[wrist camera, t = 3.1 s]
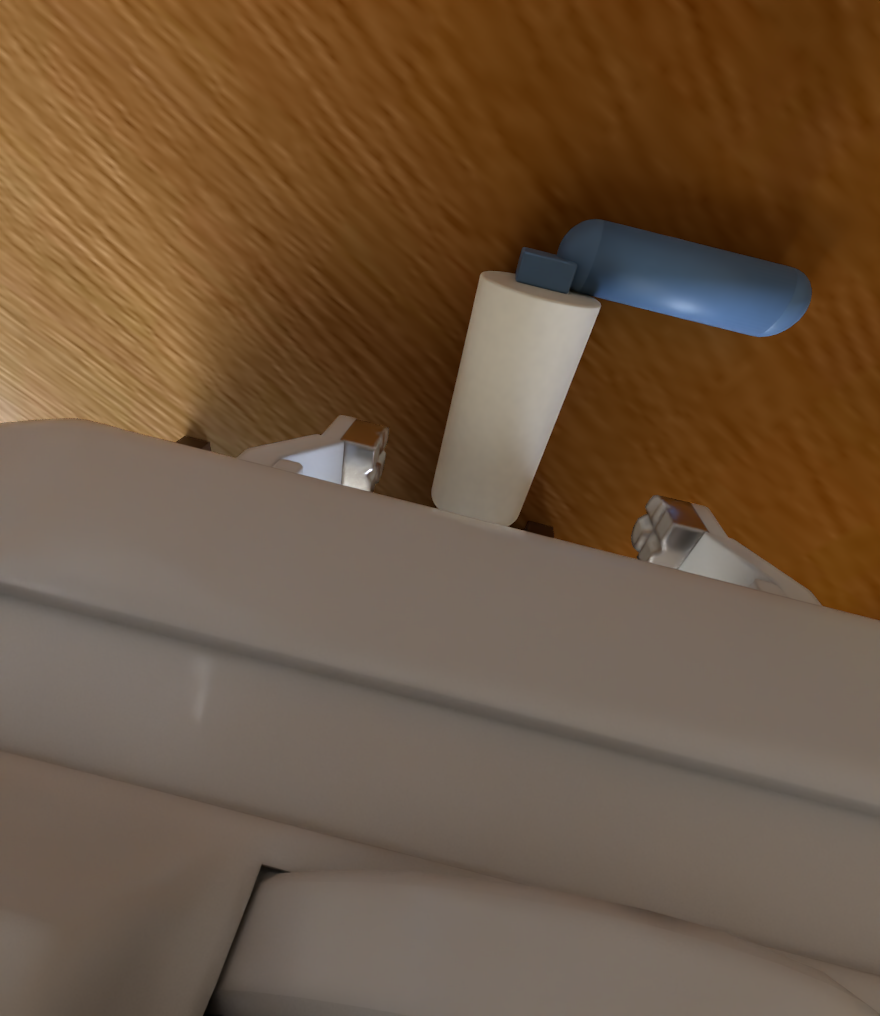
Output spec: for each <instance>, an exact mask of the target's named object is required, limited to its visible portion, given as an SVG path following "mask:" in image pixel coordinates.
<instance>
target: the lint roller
mask: <svg viewBox="0 0 880 1016" xmlns="http://www.w3.org/2000/svg"><path fill="white" fill-rule="evenodd" d="M589 295H590V296H589ZM811 295H812V288H811V284H810V281H809V280H808V278H807V277H806V275H805V274H804V273H803V272H801V271H800V270H798V269H795V268H793V267H790V266H786V265H782V264H778V263H774V262H770V261H766V260H762V259H758V258H754V257H750V256H746V255H742V254H738V253H734V252H730V251H726V250H722V249H718V248H714V247H710V246H706V245H702V244H698V243H694V242H690V241H686V240H682V239H678V238H674V237H670V236H666V235H662V234H658V233H654V232H650V231H646V230H642V229H638V228H634V227H630V226H626V225H622V224H618V223H614V222H610V221H606V220H601V219H590V220H586V221H583V222H581V223H579V224H577V225H576V226H574V227H573V228H572V229H571V230H569V232H568V233H567V234H566V235H565V236H564V238H563V240H562V241H561V243H560V245H559V248H558V251H557V255H555V254H551V253H547V252H543V251H539V250H535V249H531V248H527V247H523V248H522V250H521V254H520V258H519V261H518V265H517V269H516V274H514V273H508V272H500V271H485V272H482V273H481V275H480V279H479V283H478V287H477V292H476V296H475V301H474V305H473V309H472V314H471V318H470V322H469V327H468V331H467V336H466V340H465V344H464V349H463V353H462V358H461V362H460V366H459V371H458V375H457V380H456V384H455V388H454V393H453V397H452V402H451V406H450V410H449V415H448V419H447V424H446V428H445V432H444V437H443V441H442V446H441V450H440V454H439V459H438V463H437V468H436V472H435V476H434V481H433V485H432V490H431V496H432V499H433V502H434V504H435V505H436V507H437V508H438V509H440V510H444V511H448V512H452V513H456V514H460V515H464V516H468V517H472V518H476V519H480V520H484V521H488V522H492V523H496V524H500V525H504V526H509V525H511V524H512V523H514V522H515V521H516V520H517V518H518V516H519V514H520V511H521V509H522V506H523V503H524V501H525V498H526V496H527V493H528V491H529V488H530V486H531V483H532V481H533V478H534V476H535V473H536V470H537V468H538V465H539V463H540V460H541V458H542V455H543V453H544V450H545V448H546V445H547V442H548V440H549V437H550V435H551V432H552V430H553V427H554V425H555V422H556V420H557V417H558V415H559V412H560V409H561V407H562V404H563V402H564V399H565V397H566V394H567V392H568V389H569V387H570V384H571V382H572V379H573V376H574V374H575V371H576V369H577V366H578V364H579V361H580V359H581V356H582V354H583V351H584V348H585V346H586V343H587V341H588V338H589V336H590V333H591V331H592V328H593V326H594V323H595V321H596V318H597V315H598V313H599V310H600V308H601V303H600V302H599V301H598V300H596V299H595V298H593V297H591V296H594V297H598V298H602V299H606V300H610V301H614V302H618V303H622V304H626V305H630V306H634V307H638V308H642V309H646V310H650V311H654V312H658V313H662V314H666V315H670V316H674V317H678V318H682V319H686V320H690V321H694V322H698V323H702V324H706V325H710V326H714V327H718V328H722V329H726V330H730V331H734V332H738V333H742V334H746V335H750V336H756V337H764V336H771V335H775V334H778V333H781V332H783V331H785V330H787V329H788V328H790V327H791V326H792V325H794V324H795V323H796V322H797V321H798V320H799V319H800V318H801V317H802V316H803V315H804V313H805V312H806V310H807V308H808V306H809V304H810V301H811Z"/></svg>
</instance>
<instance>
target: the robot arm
mask: <svg viewBox="0 0 880 1016" xmlns="http://www.w3.org/2000/svg"><path fill="white" fill-rule="evenodd" d="M388 439H389V427H385V426H381V425H378V424H374V423H370V422H367V421H363V420H359V419H357V418H353V417H348V416H344V415H339V416H338V417H337V418H336V419H335V420H334V421H333V423H332V424H331V425H330V426H329V427H328V428H327V429H326V430H325V431H324V433H323V434H322V435H319V434H314V435H309V436H304V437H300V438H295V439H290V440H285V441H281V442H276V443H271V444H266V445H262V446H257V447H252V448H247V449H246V450H245V451H243V452H242V453H241V454H240V455H239V456H238V457H236V458H235V457H231V456H227V455H223V454H219V453H215V452H211V451H207V450H203V449H199V448H195V447H191V446H187V445H183V444H179V443H175V442H171V441H167V440H163V439H159V438H155V437H151V436H147V435H143V434H139V433H135V432H132V431H128V430H124V429H120V428H117V427H113V426H110V425H106V424H103V423H99V422H94V421H90V420H86V419H78V418H63V419H42V420H28V421H17V422H5V423H0V1016H880V621H879V620H875V619H872V618H868V617H864V616H860V615H856V614H852V613H848V612H844V611H840V610H836V609H832V608H828V607H824V606H822V605H821V604H820V603H819V601H818V600H817V599H816V597H815V596H814V595H813V594H812V592H811V591H809V590H808V589H807V588H805V587H804V586H802V585H801V584H799V583H798V582H796V581H795V580H793V579H792V578H790V577H789V576H787V575H786V574H784V573H783V572H781V571H780V570H778V569H777V568H775V567H774V566H773V565H771V564H770V563H768V562H767V561H765V560H764V559H762V558H761V557H759V556H758V555H756V554H755V553H753V552H752V551H750V550H749V549H747V548H746V547H744V546H743V545H741V544H740V543H739V542H737V541H736V540H734V539H731V538H728V536H727V535H726V533H725V532H724V531H723V529H722V528H721V526H720V525H719V523H718V522H717V520H716V519H715V517H714V516H713V514H712V513H711V511H710V510H709V508H708V507H705V506H702V505H697V504H692V503H690V502H686V501H681V500H677V499H673V498H668V497H664V496H659V495H654V496H653V497H652V498H651V499H650V500H649V501H648V503H647V504H646V506H645V508H646V513H647V514H645V515H643V516H641V517H640V518H638V520H637V521H636V523H635V525H634V527H633V531H632V535H631V542H632V545H633V547H634V548H635V549H636V550H637V551H638V552H639V554H638V556H637V559H634V558H630V557H626V556H622V555H618V554H614V553H610V552H606V551H602V550H598V549H595V548H591V547H587V546H583V545H579V544H575V543H571V542H567V541H563V540H559V539H555V538H551V537H547V536H543V535H539V534H535V533H531V532H527V531H523V530H519V529H515V528H511V527H508V526H504V525H500V524H496V523H492V522H488V521H484V520H480V519H476V518H472V517H468V516H464V515H460V514H456V513H452V512H448V511H444V510H440V509H436V508H432V507H428V506H425V505H421V504H417V503H413V502H409V501H405V500H401V499H397V498H393V497H389V496H385V495H381V494H377V493H373V492H374V490H375V484H376V483H379V480H380V478H381V476H382V473H383V470H384V465H385V460H386V453H385V451H384V448H385V447H386V445H387V443H388Z"/></svg>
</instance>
